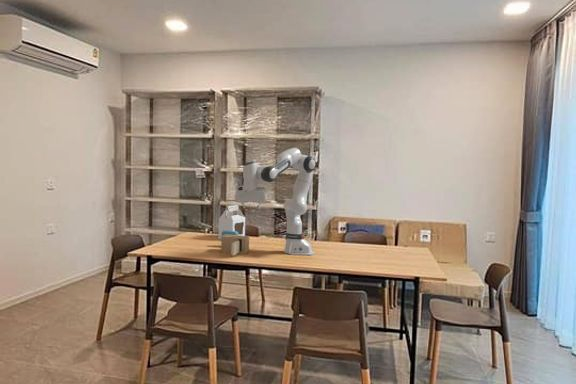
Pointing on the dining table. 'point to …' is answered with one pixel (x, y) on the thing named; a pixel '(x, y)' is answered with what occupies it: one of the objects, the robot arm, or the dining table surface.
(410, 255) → the dining table surface
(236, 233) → the data package
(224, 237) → the carton
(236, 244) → the flap
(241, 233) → the gable box
